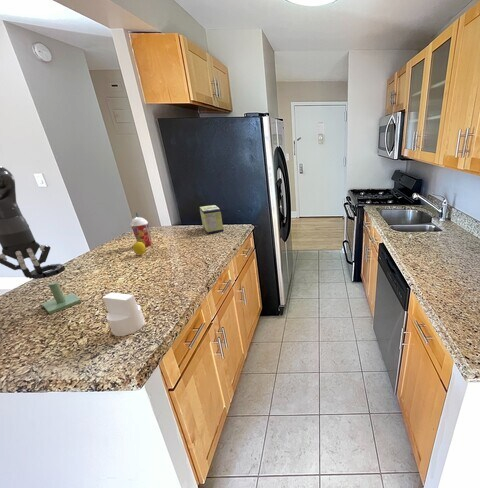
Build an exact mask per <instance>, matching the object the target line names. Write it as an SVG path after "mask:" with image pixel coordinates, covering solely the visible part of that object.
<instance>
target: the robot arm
mask: <svg viewBox="0 0 480 488" xmlns="http://www.w3.org/2000/svg"><path fill="white" fill-rule="evenodd" d="M23 215H24V214H22V211H21V209H20V207H19V205H18V203H17V194H16V180H15V177H14V175H13V174H12V173H11V172H10V170H9V169H7V168H6V167H3V166H1V165H0V246H1V248H2V249H1V253H0V264H1V265H2V266H4V267H6V268H9V269H11V270H13V271H18V270H21V271H22V274H23V275H24V277H25V278H28V279H29V280H30V279H33V278H32V276H31V273H30V272H31V270H30V269H29V268H28V267H27V265H26V262H25V259H29V260H30V262H31V263H32V264H33V265H32V266H33V268H34V269H33V270H35V271H36V272H37V273H42V272H43V271H42V269H41V267H42V266H41V265H42V264H43V263H46V262H47V259H48V256H49V254H50V252H51V251H50V250H51V246H50V245H48V244H40V243H39V242H37V241H36V239H35V237H34V235H33V232H32V230H31V228H30V225H29V223H28V222H27V220H26V218H25V217H24V216H23ZM39 250H40V251H41V253H40V255H39V258H37V256H36V255H37V253H38V251H39ZM6 256H7V257H9V258H11V259H13V260H16V262H17V264H15V263H13V262H10V261H9V260H8V258H7V257H6Z"/></svg>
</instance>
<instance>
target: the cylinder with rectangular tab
mask: <svg viewBox="0 0 480 488" xmlns="http://www.w3.org/2000/svg"><path fill="white" fill-rule="evenodd" d="M102 299H103V302H104V304H105V307H106V310H107V312H108V313H107V315H106V320H107V323H108V325H109V328H110V331H111V333H112V335H113V336H115V337H125V336H129V335H131V334H134V333H136V332H138V331H139V330H140V329H142V328H143V327H144V326H145V324H146V320H145V317H144V313H143V311H142V307H141V305H140V304H137V301H136V300H137V299H136V297H135V295H134V294H128V293H120V292H109V293H107V294H105V295H104V296H102Z"/></svg>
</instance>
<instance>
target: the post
mask: <svg viewBox="0 0 480 488" xmlns="http://www.w3.org/2000/svg"><path fill="white" fill-rule="evenodd" d="M47 285H48V288H49V289H50V291H51V294H52V296H53V298H54V299H50V300H48V301H46V302H42V303H41V306H42V307H43V308H44V309H45V311H46V312H47V313H48V314H49V315H52V314H54V313H57V312H59V311H62V310H65V309H67V308H70V307H73V306H75V305H78V304H81V303H82V300H81V299H80V298H79V296H77V295H76V294H75V293H73V292H70V293H68V294H65V295H64V293H63V291H62V289H61V287H60V285H59V283H58V281H51V282H50V283H48V284H47Z"/></svg>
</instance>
